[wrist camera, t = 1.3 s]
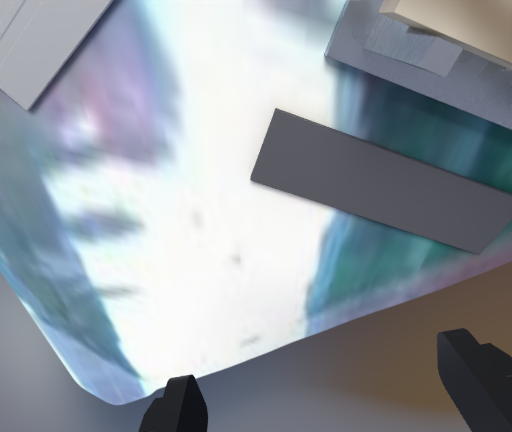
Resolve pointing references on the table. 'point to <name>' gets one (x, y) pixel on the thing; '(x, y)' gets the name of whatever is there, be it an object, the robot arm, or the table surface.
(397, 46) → the hook rack
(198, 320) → the table surface
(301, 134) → the rubber mat
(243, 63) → the table surface
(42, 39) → the baseboard molding
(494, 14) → the birch rail
